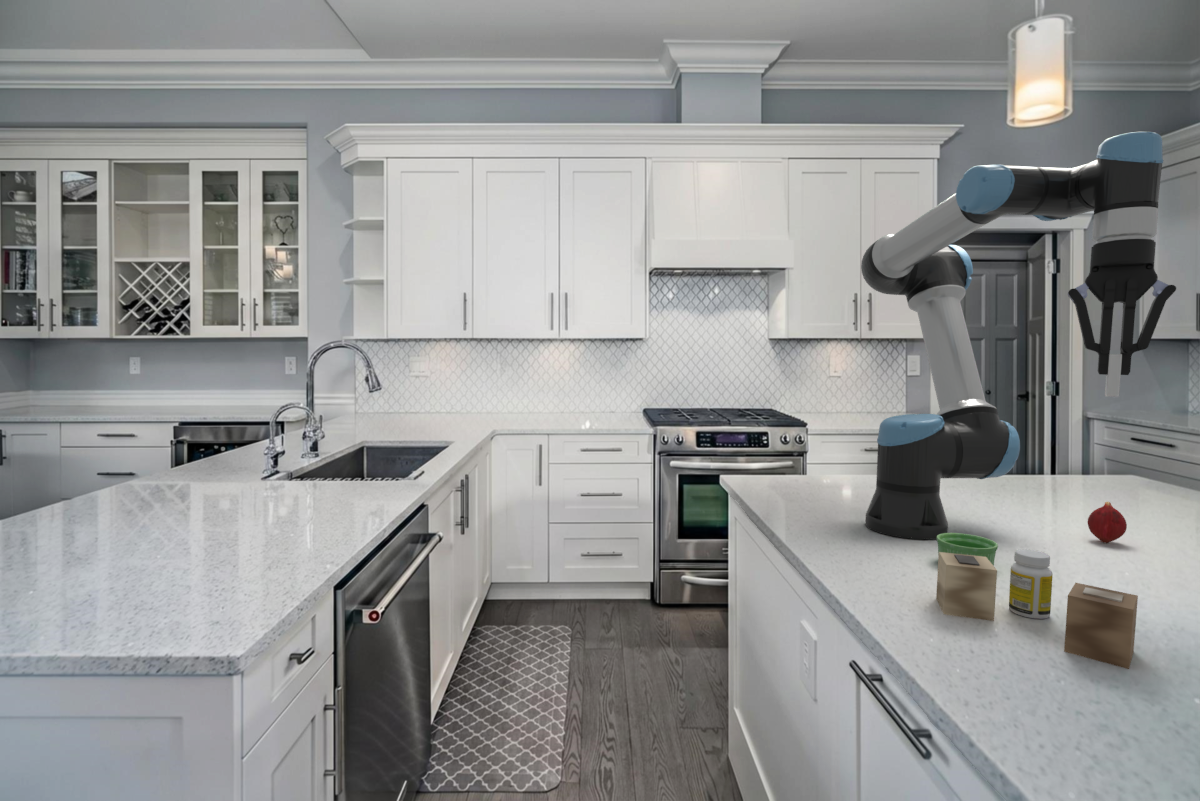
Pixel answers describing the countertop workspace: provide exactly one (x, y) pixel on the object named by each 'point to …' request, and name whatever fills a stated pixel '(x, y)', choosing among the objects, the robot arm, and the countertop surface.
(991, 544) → the ramekin
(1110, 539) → the onion
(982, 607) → the maple block
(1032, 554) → the supplement bottle
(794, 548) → the countertop surface
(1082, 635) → the walnut block
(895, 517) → the robot arm
